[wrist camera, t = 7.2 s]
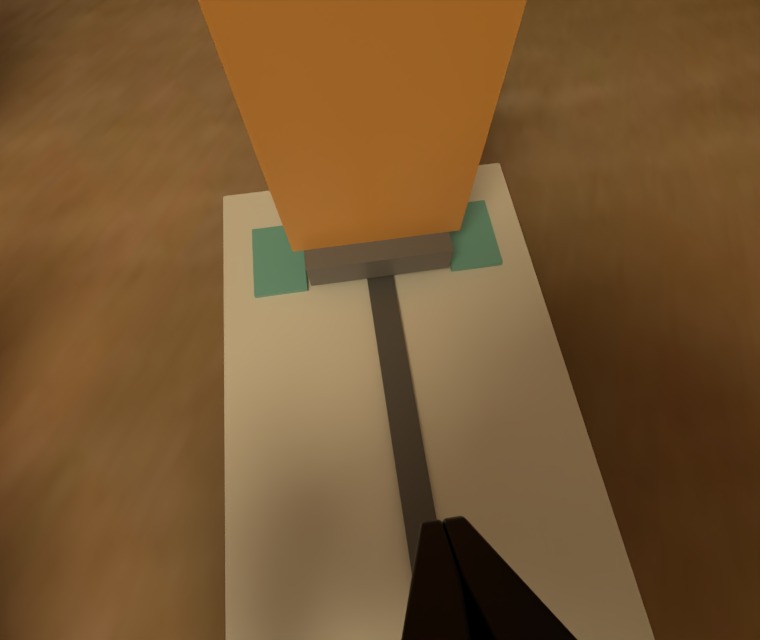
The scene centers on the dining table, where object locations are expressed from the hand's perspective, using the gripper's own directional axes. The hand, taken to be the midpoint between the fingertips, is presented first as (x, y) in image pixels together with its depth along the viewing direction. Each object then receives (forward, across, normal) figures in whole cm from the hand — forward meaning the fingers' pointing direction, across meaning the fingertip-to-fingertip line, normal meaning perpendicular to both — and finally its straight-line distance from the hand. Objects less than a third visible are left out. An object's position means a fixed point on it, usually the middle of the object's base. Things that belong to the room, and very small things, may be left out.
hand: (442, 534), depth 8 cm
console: (+7, 0, +2) cm, 8 cm away
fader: (+11, 0, -4) cm, 11 cm away
